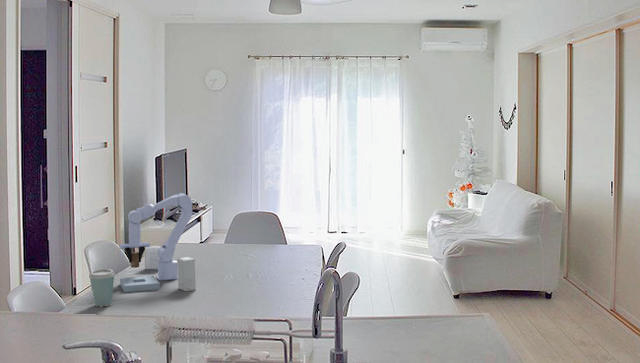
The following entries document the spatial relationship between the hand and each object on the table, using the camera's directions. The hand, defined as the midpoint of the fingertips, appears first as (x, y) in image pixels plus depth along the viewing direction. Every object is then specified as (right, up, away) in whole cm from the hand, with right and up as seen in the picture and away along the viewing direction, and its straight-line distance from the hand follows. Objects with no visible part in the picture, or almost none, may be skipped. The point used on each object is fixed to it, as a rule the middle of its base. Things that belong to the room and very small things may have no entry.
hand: (134, 262), depth 336 cm
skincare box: (+28, -11, -14) cm, 33 cm away
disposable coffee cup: (-2, -14, -44) cm, 46 cm away
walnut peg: (0, -2, 0) cm, 2 cm away
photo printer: (+3, -7, +28) cm, 29 cm away
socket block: (+5, -11, -11) cm, 16 cm away
